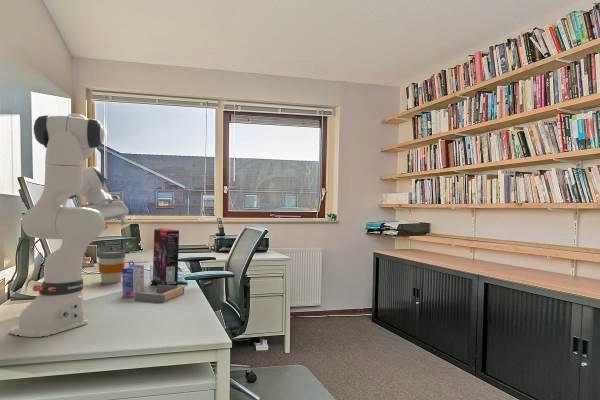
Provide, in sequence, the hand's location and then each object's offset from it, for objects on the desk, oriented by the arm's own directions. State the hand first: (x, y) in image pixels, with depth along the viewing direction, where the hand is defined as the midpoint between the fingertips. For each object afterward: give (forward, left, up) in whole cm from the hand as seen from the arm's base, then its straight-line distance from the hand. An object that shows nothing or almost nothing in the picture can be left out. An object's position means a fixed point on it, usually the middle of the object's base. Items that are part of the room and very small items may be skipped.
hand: (114, 226), depth 183 cm
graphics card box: (+22, -12, -30) cm, 39 cm away
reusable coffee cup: (+20, +17, -30) cm, 39 cm away
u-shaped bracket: (0, -24, -29) cm, 38 cm away
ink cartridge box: (0, -10, -30) cm, 31 cm away
